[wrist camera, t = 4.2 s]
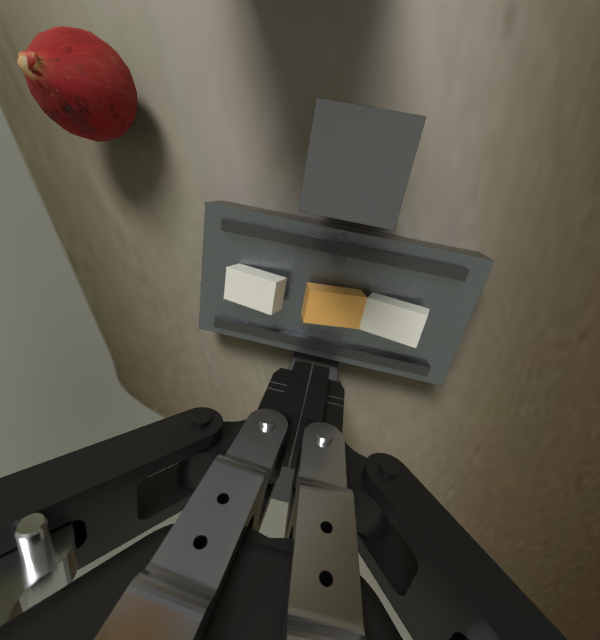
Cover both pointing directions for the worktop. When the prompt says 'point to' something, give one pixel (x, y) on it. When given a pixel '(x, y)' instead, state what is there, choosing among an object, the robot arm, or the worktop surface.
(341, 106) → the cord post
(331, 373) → the cord post
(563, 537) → the worktop surface
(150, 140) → the worktop surface
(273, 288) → the paddle
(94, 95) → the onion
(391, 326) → the paddle
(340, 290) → the orange block
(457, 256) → the breaker panel
